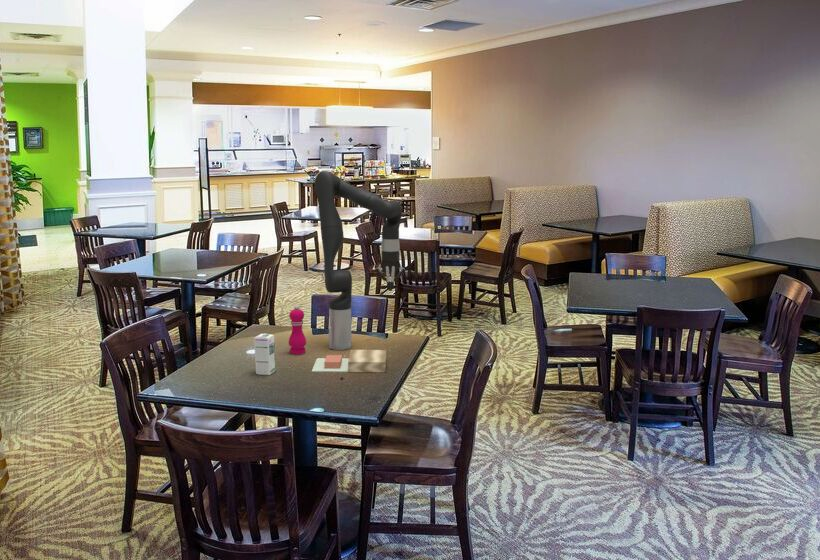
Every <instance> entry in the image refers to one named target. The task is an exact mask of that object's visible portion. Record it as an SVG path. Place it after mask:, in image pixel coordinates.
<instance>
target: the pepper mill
mask: <svg viewBox="0 0 820 560" xmlns="http://www.w3.org/2000/svg"><path fill="white" fill-rule="evenodd" d="M299 308H300V307H299V306H298V305H294V309H292V310H290V312H289V319H290V320H291V321H290V325H291V334H290V336H289V338H288V346H289V347H290V348H289V352H290V354H291V355H303V354H305V353H306V347H305V346H306V344H307V339H306V336H305V334H304V332H303V324H304V320H303V319H304V318H305V313H304V311H303V310H302V309H299Z"/></svg>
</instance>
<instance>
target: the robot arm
mask: <svg viewBox="0 0 820 560" xmlns="http://www.w3.org/2000/svg"><path fill="white" fill-rule="evenodd" d="M314 189H315V193H316V199H317V204H318V213H319V221H320V222H319V224H320V234H321V241H322V251H323V263H324V264H323V265H324V272H323V273H324V285H325V289H326V291H327V293H330V294H332V293H335V294H336V293H340V294H339V295H338V296H337V297H335V298H334V299H331V300H330V301H329V303H328V315H329V316H328V321H329V322H328V323H329V324H328V325H329V326H328V349H329V350H334V351H335V350H336V351H343V350H349V349H352V290H353V277H352V273H351V271H350V270H348V269H341V270H339V269H338V270H337V269H336V270H334V264H335V263H334V262H335V259H336V256H337V254H338V252H339V250H340V249H341V247H342V244H343V242H344V236H345V235H344V228H343V222H342V220H341V219H342V218H341V216H340V214H339V212H338V211H339V210H338V209H337V207H336V204H335V197H340V198H342V199H345V200H348V201H349V202H352V203H353V204H356V205H357V206H359V207H361V208H364V209H366V210H369V211H371V212H372V213H374V214H375V215H377V216H378V217H380V218H382V219H385V223H384V224H383V225H382V228H381V246H380V247H381V248H380V250H381V251H380V252H381V256H380V257H381V258H380V259H381V261H380V264H379V266H378V267H376V268H375V272H376V274H378V276H379V277H380V278H381V279H382V281H384V282H386V289H387V290H388V292H392V291H393V290H394V288H395V287H394V286H395V282H397V281H398V280H399V279H400V278H401V277H402V276H403V274H404V273H405V272H406V269H405V268H404V267H403V266H402V265H401V263H400V256H401V255H400V250H401V247H400V246H401V245H400V244H401V243H400V225H401V221H402V216H403V209H402V205H401V203H400V202H399V201H397V200H389V201H388V200H385V199H382V198H381V196H380V195H378V194H376V193H373V192H372V191H369V190H366V189H364V188H360V187H356V186H354V185H351V183H348V182H346V181H345V180H344V179H342V178H340V177H339V176H337V175H336V174H334V173H332V172H330V171H327V170H326V171H325V170H322V171H320V172H318V173H317V174H316V175H315V178H314ZM382 271H383V272H384V274H385V275H384V274H383V272H382ZM398 271H399V273H398V274H397V275H396V276H395V274H396V273H397V272H398ZM390 274H391V276H390Z"/></svg>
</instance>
